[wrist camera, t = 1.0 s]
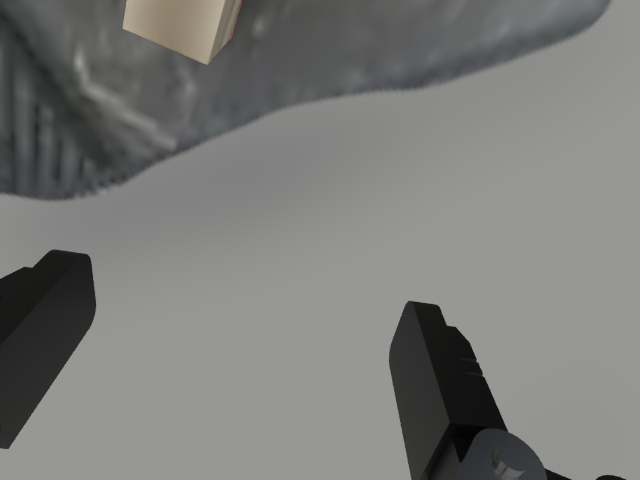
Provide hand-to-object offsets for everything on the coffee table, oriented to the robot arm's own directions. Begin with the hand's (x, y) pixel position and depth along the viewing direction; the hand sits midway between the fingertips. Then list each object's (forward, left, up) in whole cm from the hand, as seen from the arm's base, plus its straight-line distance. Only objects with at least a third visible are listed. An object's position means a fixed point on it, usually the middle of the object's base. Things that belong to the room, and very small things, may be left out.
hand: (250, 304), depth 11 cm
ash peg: (-6, +3, -24) cm, 25 cm away
